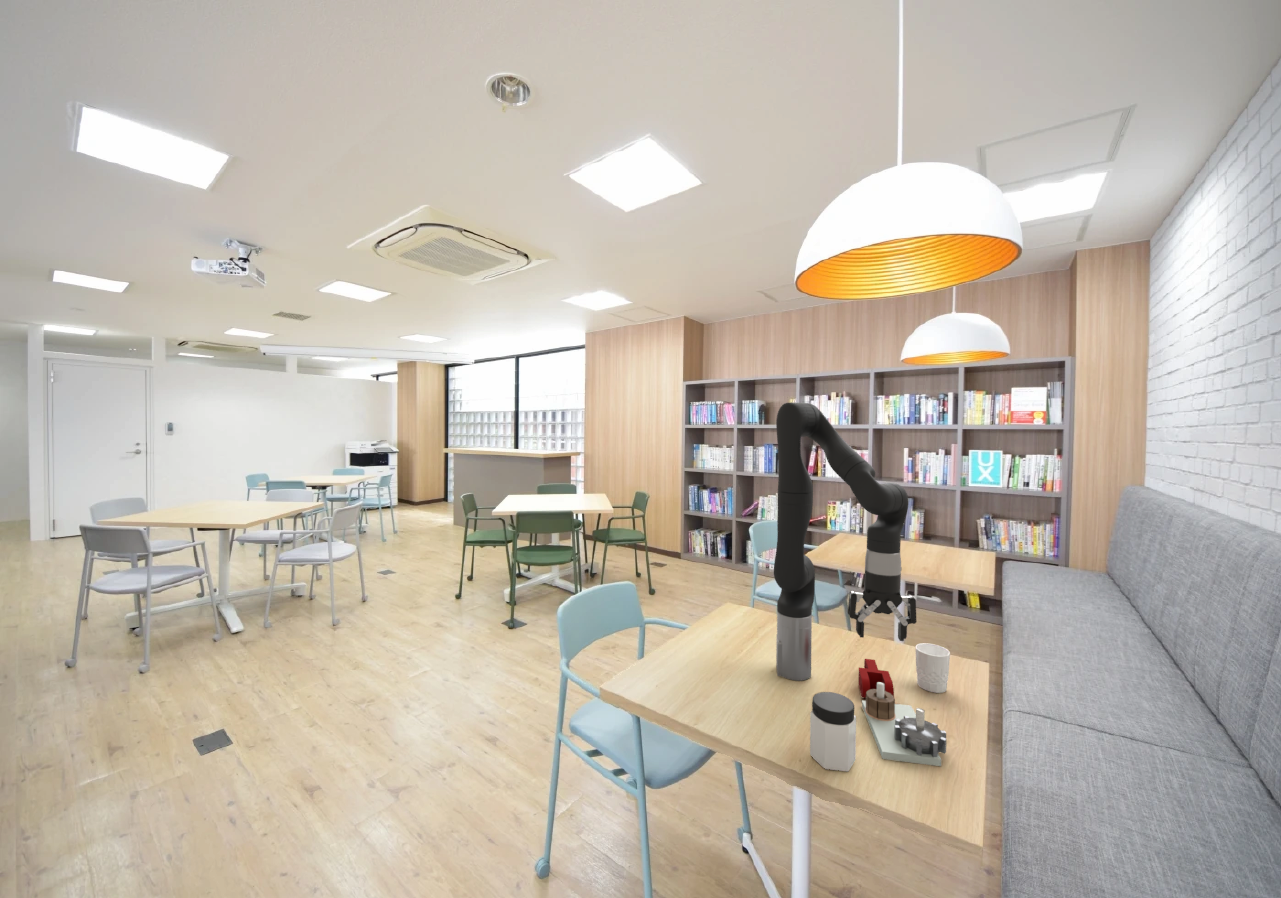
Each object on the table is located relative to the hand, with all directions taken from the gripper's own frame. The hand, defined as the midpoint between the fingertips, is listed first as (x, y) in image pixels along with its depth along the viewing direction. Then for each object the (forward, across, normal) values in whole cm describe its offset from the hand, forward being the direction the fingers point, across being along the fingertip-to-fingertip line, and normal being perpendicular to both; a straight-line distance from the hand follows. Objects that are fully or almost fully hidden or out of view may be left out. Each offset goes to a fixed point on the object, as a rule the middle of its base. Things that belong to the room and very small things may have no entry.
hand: (880, 638), depth 117 cm
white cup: (+20, -17, -19) cm, 32 cm away
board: (+19, -3, +5) cm, 20 cm away
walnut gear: (+18, 0, 0) cm, 18 cm away
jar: (+20, +12, +17) cm, 29 cm away
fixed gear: (+18, -6, +10) cm, 21 cm away
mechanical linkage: (+20, -2, -16) cm, 25 cm away
